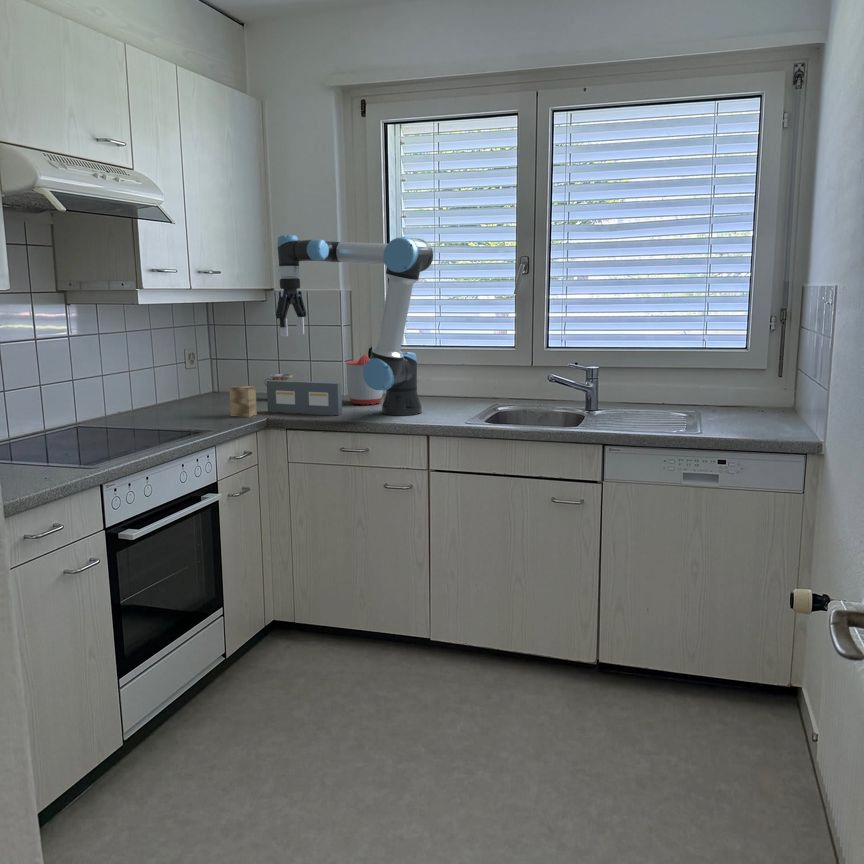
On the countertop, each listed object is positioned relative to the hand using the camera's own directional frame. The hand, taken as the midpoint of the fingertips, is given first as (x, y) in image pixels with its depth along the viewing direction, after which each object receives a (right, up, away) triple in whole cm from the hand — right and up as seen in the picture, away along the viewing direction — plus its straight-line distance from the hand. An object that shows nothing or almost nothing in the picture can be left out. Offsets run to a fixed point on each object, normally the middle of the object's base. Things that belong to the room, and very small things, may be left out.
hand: (292, 335), depth 295 cm
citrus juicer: (+26, -25, +25) cm, 44 cm away
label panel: (+4, -29, +1) cm, 30 cm away
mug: (-12, -23, +36) cm, 45 cm away
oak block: (-18, -31, -3) cm, 35 cm away
